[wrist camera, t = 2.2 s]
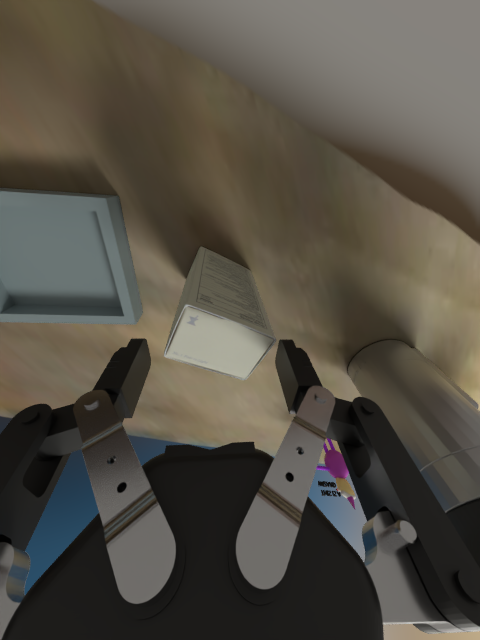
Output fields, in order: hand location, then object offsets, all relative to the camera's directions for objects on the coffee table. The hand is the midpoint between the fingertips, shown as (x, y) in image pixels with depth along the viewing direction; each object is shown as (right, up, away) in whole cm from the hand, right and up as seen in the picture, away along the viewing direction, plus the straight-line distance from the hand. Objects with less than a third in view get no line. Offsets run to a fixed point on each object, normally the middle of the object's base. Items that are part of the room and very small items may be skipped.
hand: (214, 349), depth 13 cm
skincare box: (-1, +7, +11) cm, 13 cm away
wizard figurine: (+18, -20, +30) cm, 40 cm away
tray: (-16, +8, +8) cm, 20 cm away
